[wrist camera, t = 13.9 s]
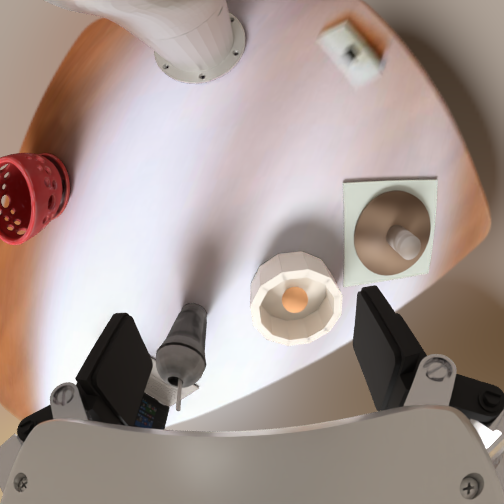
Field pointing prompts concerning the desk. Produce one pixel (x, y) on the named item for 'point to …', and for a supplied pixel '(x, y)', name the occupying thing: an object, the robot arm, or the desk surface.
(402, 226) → the lid
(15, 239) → the plant pot
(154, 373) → the laptop
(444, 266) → the desk surface
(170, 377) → the beverage cup
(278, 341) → the bowl
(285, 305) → the ball
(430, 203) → the mat
